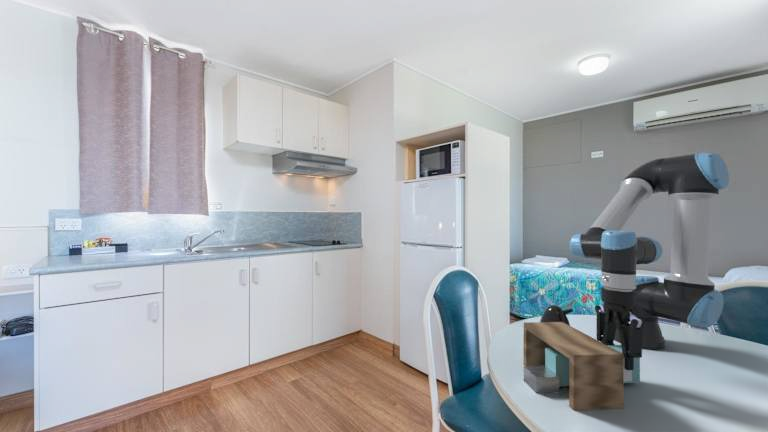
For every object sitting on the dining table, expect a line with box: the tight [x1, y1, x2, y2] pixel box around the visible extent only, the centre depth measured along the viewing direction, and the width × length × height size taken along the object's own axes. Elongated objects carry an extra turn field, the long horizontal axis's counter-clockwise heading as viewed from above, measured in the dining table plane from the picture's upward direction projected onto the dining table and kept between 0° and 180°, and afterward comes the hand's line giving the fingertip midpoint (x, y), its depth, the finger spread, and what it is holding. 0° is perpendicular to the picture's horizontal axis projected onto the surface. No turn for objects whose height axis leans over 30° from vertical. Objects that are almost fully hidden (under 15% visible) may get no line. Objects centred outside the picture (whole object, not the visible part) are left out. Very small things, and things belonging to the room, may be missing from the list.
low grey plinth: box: [523, 365, 560, 394], centre depth 81 cm, size 6×6×4 cm
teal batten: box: [545, 344, 641, 388], centre depth 83 cm, size 23×4×8 cm, turn 94°
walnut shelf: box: [523, 321, 624, 411], centre depth 83 cm, size 12×22×12 cm, turn 4°
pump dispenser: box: [539, 304, 574, 326], centre depth 102 cm, size 10×10×15 cm
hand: (617, 375), depth 84 cm, fingers closed on teal batten, 4 cm apart
